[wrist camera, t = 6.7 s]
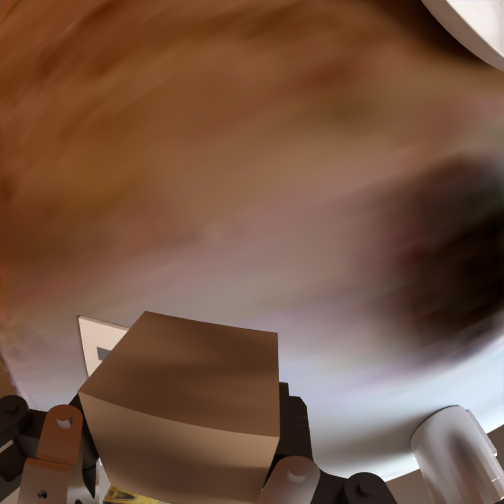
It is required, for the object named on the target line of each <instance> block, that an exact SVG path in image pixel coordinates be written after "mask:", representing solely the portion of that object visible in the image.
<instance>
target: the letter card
mask: <svg viewBox="0 0 504 504" xmlns="http://www.w3.org/2000/svg"><path fill="white" fill-rule="evenodd" d="M79 324H80V331H81V338H82V344H83V350H84V356H85V361H86V366H87V371H88V376H89V377H90V376H91V374H92V373H93V372H94V371H95V369H96V368H97V367H98V366H99V365H100V363H101V362H102V361H103V360H104V359H105V357H106V356H107V355H108V354H109V353H110V351H111V350H112V349H113V348H114V347H115V345H116V344H117V343H118V342H119V341H120V340H121V338H122V337H123V336H124V335H125V334H126V333H127V331H128V330H129V329H130V328H127V327H123V326H119V325H115V324H111V323H107V322H103V321H99V320H96V319H92V318H88V317H85V316H80V317H79Z"/></svg>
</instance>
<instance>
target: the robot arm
mask: <svg viewBox="0 0 504 504" xmlns="http://www.w3.org/2000/svg"><path fill="white" fill-rule="evenodd" d="M279 413H280V438H279V442H278V445H277V448H276V451H275V454H274V457H273V460H272V463H271V465H270V468H269V471H268V474H267V477H266V480H265V482H264V485H263V488H262V489H263V490H262V492H261V493H260V495H259V497H258V498H257V500H256V502H255V504H397V502H396V501H395V499H394V497H393V495H392V494H391V492H390V490H389V489H388V487H387V486H386V484H385V482H384V481H383V480H382V479H381V478H380V477H379V476H377V475H375V474H373V473H369V472H360V473H356V474H354V475H352V476H351V477H349V478H348V479H347V478H342V477H338V476H334V475H330V474H327V473H325V472H324V471H322V470H321V469H319V468H318V466H317V465H316V464H315V463H314V460H313V457H312V448H311V440H310V431H309V422H308V414H307V406H306V405H305V403H304V402H303V400H302V399H301V398H300V397H296V396H289V388H288V383H284V382H279ZM10 440H12V442H13V444H12V445H10V446H9V447H8V448H6V449H5V450H4V451H2V452H1V453H0V502H2V501H3V500H4V499H5V498H6V497H7V496H9V495H10V494H11V493H12V492H13V491H15V490H16V489H17V488H18V487H19V486H20V490H19V495H18V501H17V504H99V468H100V462H99V455H98V452H97V449H96V447H95V444H94V441H93V438H92V436H91V433H90V430H89V427H88V424H87V421H86V418H85V414H84V411H83V408H82V404H81V401H80V397H79V394H78V393H77V394H76V396H75V397H74V398H73V400H72V401H71V402H70V403H69V405H58V406H55V407H53V408H51V409H50V410H49V411H48V412H44V411H38V410H33V409H29V407H28V404H27V402H26V401H25V400H24V399H23V398H22V397H20V396H17V395H9V396H5V397H3V398H1V399H0V448H1V447H2V446H3V445H5V444H6V443H7V442H8V441H10ZM410 445H411V448H412V450H413V452H414V455H415V457H416V460H417V462H418V465H419V467H420V470H421V472H422V475H423V477H424V480H425V482H426V485H427V487H428V490H429V493H430V495H431V498H432V500H433V503H434V504H504V471H503V469H502V468H501V466H500V464H499V462H498V461H497V459H496V455H497V451H496V449H495V447H494V446H493V444H492V443H491V441H490V440H489V438H488V436H487V435H486V433H485V432H484V430H483V429H482V427H481V426H480V424H479V423H478V421H477V420H476V418H475V417H474V415H473V414H472V413H471V411H465V409H464V408H463V407H461V406H452V407H449V408H445V409H443V410H441V411H439V412H437V413H436V414H434V415H432V416H431V417H430V418H428V419H427V420H426V421H424V422H423V423H422V424H421V425H420V426H419V427H418V428H417V430H416V431H415V432H414V434H413V436H412V437H411V441H410Z"/></svg>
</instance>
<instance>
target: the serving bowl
mask: <svg viewBox="0 0 504 504" xmlns="http://www.w3.org/2000/svg"><path fill="white" fill-rule="evenodd" d="M421 1H422V2H423V4H424V5H425V6H426V8H427V9H428V10H429V11H430V13H431V14H432V15H433V16H434V17H435V18H436V20H437V21H438V22H439V23H440V24H441V25H442V26H443V27H444V28H445V29H446V30H447V31H448V32H449V33H450V34H451V35H452V36H453V37H454V38H455V39H456V40H457V41H459V42H460V43H461V44H462V45H463V46H464V47H466V48H467V49H468V50H469V51H471V52H472V53H473V54H475V55H476V56H477V57H479V58H480V59H482V60H483V61H485V62H486V63H488V64H490V65H492V66H493V67H495V68H497V69H499V70H501V71H503V72H504V0H421Z"/></svg>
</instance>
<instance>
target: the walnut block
mask: <svg viewBox="0 0 504 504" xmlns="http://www.w3.org/2000/svg"><path fill="white" fill-rule="evenodd" d="M78 394H79V397H80V401H81V404H82V408H83V411H84V414H85V418H86V421H87V424H88V427H89V430H90V433H91V436H92V438H93V441H94V444H95V447H96V449H97V452H98V455H99V457H100V460H101V462H102V464H103V467H104V469H105V472H106V474H107V476H108V479H109V481H110V483H111V485H112V486H115V487H118V488H120V489H123V490H126V491H129V492H132V493H135V494H138V495H142V496H145V497H148V498H152V499H155V500H159V501H163V502H167V503H171V504H255V502H256V500H257V498H258V497H259V495H260V493H261V491H262V488H263V485H264V482H265V480H266V477H267V474H268V471H269V468H270V465H271V463H272V460H273V457H274V454H275V451H276V448H277V445H278V442H279V438H280V413H279V367H278V334H277V333H274V332H266V331H259V330H252V329H245V328H238V327H231V326H225V325H218V324H212V323H206V322H201V321H195V320H189V319H184V318H178V317H173V316H168V315H163V314H158V313H153V312H148V311H145V312H144V313H143V314H142V315H141V316H140V317H139V319H138V320H137V321H136V322H135V323H134V324H133V326H132V327H131V328H130V329H129V330H128V331H127V333H126V334H125V335H124V336H123V337H122V338H121V340H120V341H119V342H118V343H117V344H116V345H115V347H114V348H113V349H112V350H111V351H110V353H109V354H108V355H107V356H106V357H105V359H104V360H103V361H102V362H101V363H100V365H99V366H98V367H97V368H96V369H95V371H94V372H93V373H92V374H91V376H90V377H89V378H88V379H87V380H86V382H85V383H84V384H83V385H82V387H81V388H80V389H79V390H78Z"/></svg>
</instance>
